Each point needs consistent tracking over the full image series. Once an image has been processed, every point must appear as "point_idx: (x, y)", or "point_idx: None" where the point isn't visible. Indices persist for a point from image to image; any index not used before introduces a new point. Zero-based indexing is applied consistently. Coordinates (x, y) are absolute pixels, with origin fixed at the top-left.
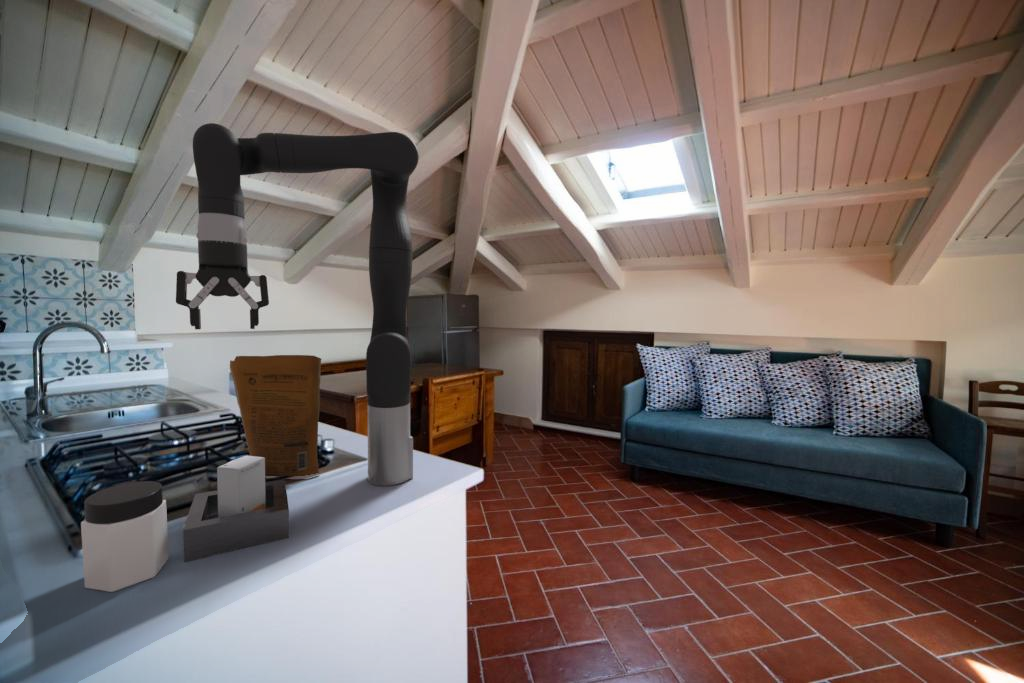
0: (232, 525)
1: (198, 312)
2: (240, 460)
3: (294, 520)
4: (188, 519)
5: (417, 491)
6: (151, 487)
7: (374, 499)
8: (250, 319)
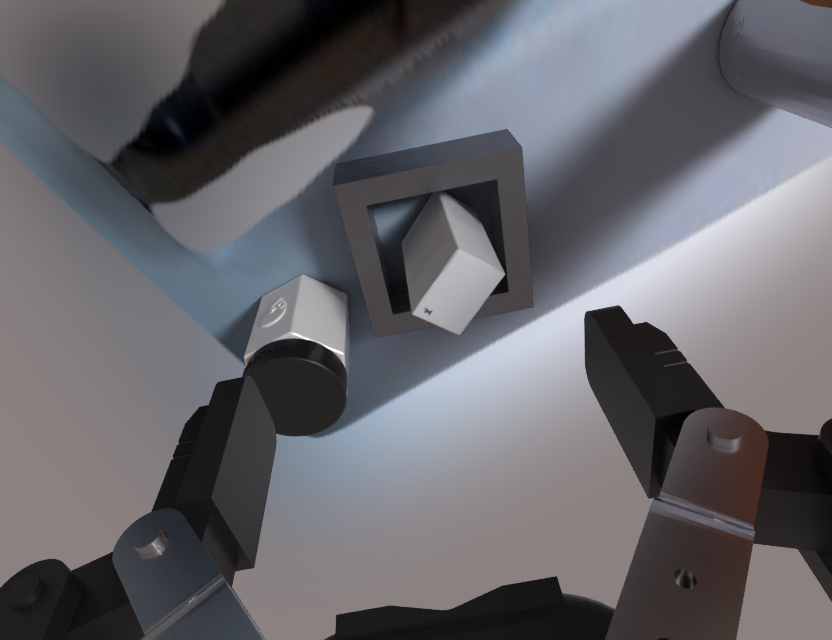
0: None
1: (255, 541)
2: (453, 285)
3: (527, 217)
4: (369, 304)
5: (797, 150)
6: (328, 390)
7: (694, 165)
8: (614, 427)
